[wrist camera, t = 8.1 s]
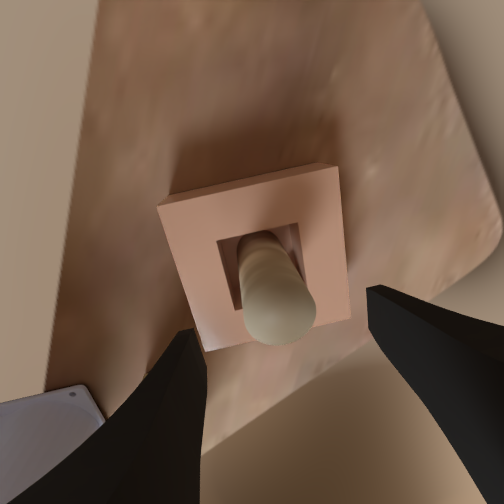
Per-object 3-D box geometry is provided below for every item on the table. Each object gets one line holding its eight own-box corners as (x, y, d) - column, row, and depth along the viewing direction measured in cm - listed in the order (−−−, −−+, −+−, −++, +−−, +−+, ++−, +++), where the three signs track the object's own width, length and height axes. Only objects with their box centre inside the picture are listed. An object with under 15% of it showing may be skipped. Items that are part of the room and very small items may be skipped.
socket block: (207, 320, 22) (205, 352, 19) (168, 195, 18) (156, 206, 15) (331, 292, 22) (351, 318, 19) (317, 162, 18) (337, 166, 15)
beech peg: (241, 276, 20) (252, 352, 13) (231, 235, 19) (236, 292, 12) (285, 266, 20) (320, 336, 13) (277, 224, 19) (311, 274, 12)
